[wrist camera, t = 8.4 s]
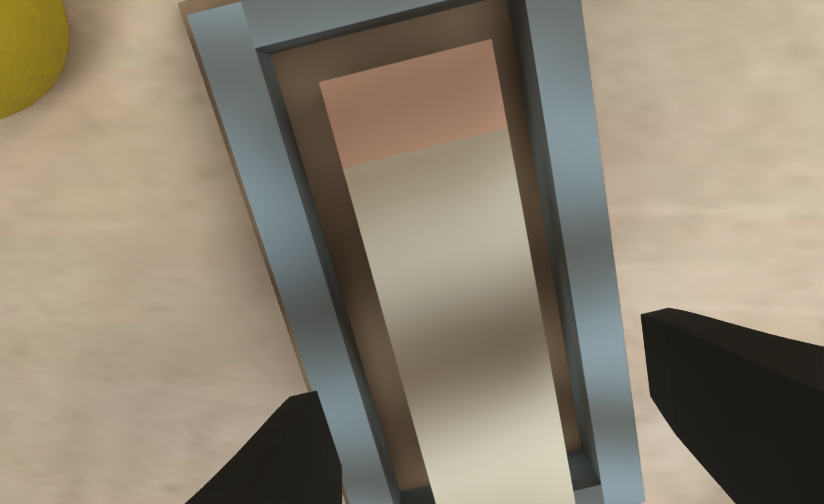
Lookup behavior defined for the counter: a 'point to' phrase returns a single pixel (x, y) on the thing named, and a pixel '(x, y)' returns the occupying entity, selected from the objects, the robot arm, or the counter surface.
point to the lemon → (30, 51)
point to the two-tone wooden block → (454, 272)
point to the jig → (341, 238)
